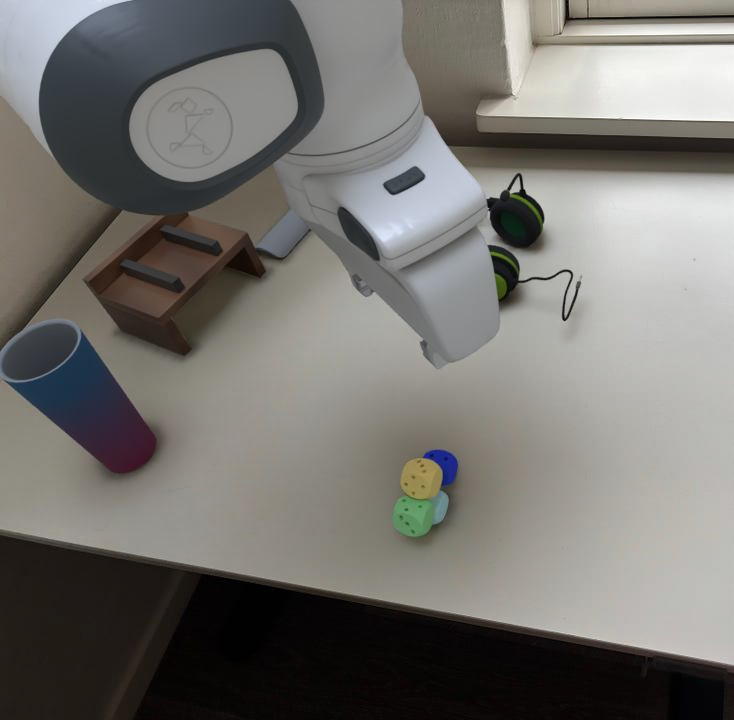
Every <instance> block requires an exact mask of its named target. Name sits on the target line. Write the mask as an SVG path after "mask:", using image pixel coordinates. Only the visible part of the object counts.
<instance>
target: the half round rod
mask: <svg viewBox="0 0 734 720" xmlns="http://www.w3.org/2000/svg"><path fill="white" fill-rule="evenodd" d="M309 230H310V229H309V228H308V227H307V226H306V225H305V224H304V223H303V221H302V220H301V219H300V217H299V216H298V215H297V214H296V213H295V212H294V211H293V210H292V209H291V208H289V210H288V211H287V212H286V213H285V214H284V215H283V216H282V217H281V219H280V220H279V221H278V222H277V223H276V224H275V225H274V226H273V227H272V228H271V229H270V230H269V231H268V232H267V234H265V236H264V237H263V238H262V239H261V240H259V242H258V243H257V244H256V246H254V247H255V249H256V251H257V253H259V254H262V255H267V256H270V257H275V258H280V259H282V258H284V257H286V256H287V255H288V254H289V253H290V252H291V251H292V250H293V248H294V247H295V246H296V245H297V244H298V243H299V241H301V239H302V238H303V237H304V236H305V235H306V234H307V233H308V232H309Z"/></svg>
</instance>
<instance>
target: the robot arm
mask: <svg viewBox="0 0 734 720" xmlns="http://www.w3.org/2000/svg"><path fill="white" fill-rule="evenodd" d="M403 27H404V9H403V2H402V0H0V97H1V98H2V99H3V100H5V102H7V103H8V104H9V106H10V107H11V108H12V110H13V111H14V112H15V113H16V114H17V115H18V117H19V118H20V119H21V120H22V121H23V123H24V124H25V126H26V127H27V129H29V130H30V131H31V133H32V134H33V136H34V138H35V139H36V141H38V142H39V144H40V145H41V146H42V147H43V149H45V152H47V153H48V154H49V155H50V156H51V157H52V159H53V160H54V161H55V162H56V163H57V164H58V166H59V167H60V168H61V169H62V171H63V172H64V173H65V175H67V177H68V178H69V179H70V180H71V181H72V182H73V183H75V184H76V185H77V186H78V187H79V188H80V189H81V190H82V191H84V192H86V193H87V194H88V195H90V196H92V197H93V198H95V199H97V200H98V201H101V202H102V203H104V204H105V205H108V206H110V207H113V208H115V209H119V210H121V211H125V212H129V213H133V214H137V215H145V216H158V215H175V214H181V213H186V212H188V213H190V212H193V211H197V210H199V209H203V208H205V207H208V206H209V205H211V204H214V203H215V202H217V201H219V200H221V199H223V198H225V197H226V196H228V195H229V194H231V193H232V192H234V191H236V190H237V189H239V188H240V187H241V186H243V185H244V184H247V183H248V182H249V181H251V180H252V179H253V178H255V177H256V176H258V175H259V174H261V173H262V172H263V171H265V170H266V169H268V168H269V167H271V166H272V168H273V171H274V172H275V175H276V177H277V180H278V183H279V185H280V187H281V190H282V193H283V195H284V197H285V200H286V202H287V204H288V206H289V209H292V210H293V211H294V212H295V213H296V214H297V215H298V216H299V217H300V219H301V220H302V221H303V223H304V224H305V225H306V226H307V227H308V228H309V230H310V231H311V232H312V233H313V234H314V235H316V237H318V239H319V240H321V241H322V242H323V244H325V246H327V248H329V249H330V250H331V251H332V252H333V253H334V254H335V255H336V256H337V258H338V259H339V261H340V262H341V264H342V266H343V267H344V269H345V270H346V272H347V273H348V275H349V279H350V282H351V284H352V286H353V288H355V290H356V291H357V292H358V293H359V294H361V296H362V297H365V298H367V297H370V296H372V295H373V293H375V294H376V295H377V296H378V297H379V298H380V299H381V300H382V301H383V302H384V303H385V304H386V305H387V306H388V307H390V309H392V311H393V312H395V314H397V316H398V317H399V318H401V319H402V320H403V321H404V322H405V323H406V324H407V325H408V326H409V327H410V328H411V329H412V330H413V331H414V332H415V333H416V334H417V335H418V336H419V337H420V338H421V339H422V340H421V341H419V345H420V349H421V351H422V356H423V357H424V358H425V359H426V360H427V361H428V362H429V363H430V364H431V365H432V366H433V367H434V368H435V369H436V370H441V369H442V368H445V366H447V365H449V364H455V363H457V362H459V361H461V360H464V359H465V358H467V357H469V356H470V355H472V354H474V353H476V352H478V351H479V350H480V349H482V348H483V347H484V346H485V345H488V343H490V342H491V341H492V340H493V339H494V338H495V337H496V335H498V333H499V331H500V325H501V315H500V303H499V302H498V295H497V288H496V281H495V274H494V268H493V263H492V259H491V255H490V251H489V248H488V246H487V245H488V243H487V241H486V239H485V236H484V235H483V233H482V231H481V229H480V228H479V227H478V226H477V225H479V224H480V223H481V222H483V221H484V220H485V219H487V217H488V215H489V214H488V213H489V211H488V209H489V208H488V207H487V200H486V199H487V196H486V193H485V191H484V189H483V187H482V186H481V185H480V183H479V181H477V179H476V178H475V177H474V176H473V175H472V174H471V173H470V172H469V171H468V169H467V168H466V167H465V166H464V165H463V164H462V163H461V161H460V160H459V159H458V158H457V157H456V156H455V154H454V153H453V152H452V150H451V149H450V148H449V146H448V145H447V144H446V142H445V141H444V139H443V138H442V136H441V134H440V133H439V131H438V129H437V127H436V124H434V122H433V120H432V119H431V118H430V116H428V115H425V111H424V107H423V102H422V101H423V100H422V97H421V96H422V95H421V91H420V87H419V86H420V85H419V83H418V81H417V77H416V76H415V74H414V71H413V70H412V68H411V66H410V64H409V62H408V60H407V59H406V58H407V57H406V55H405V51H404V47H403Z"/></svg>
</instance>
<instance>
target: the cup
mask: <svg viewBox="0 0 734 720" xmlns="http://www.w3.org/2000/svg"><path fill="white" fill-rule="evenodd" d="M0 379H1V380H2V381H4V382H5V383H6V384H7V385H8V386H10V387H11V388H12V389H13V390H14V391H16V393H18V394H19V395H20V396H22V398H24V399H25V400H26V402H29V403H30V404H31V405H32V406H33V407H34V408H36V409H37V410H38V411H39V412H40V413H41V414H43V415H44V416H45V417H46V418H47V419H49V420H50V421H51V422H52V423H53V424H54V425H55V426H56V427H58V428H59V429H60V430H62V431H63V433H65V434H66V435H68V437H70V438H71V439H72V440H73V441H74V442H76V443H77V444H78V445H79V446H81V448H83V450H85V451H86V452H88V453H89V454H90V455H91V456H92V457H94V459H96V460H97V461H98V462H99V463H100V464H102V465H103V466H104V467H105V468H106V469H107V470H109V471H110V472H112V473H115V474H127V473H131V472H133V471H136V470H137V469H140V468H141V467H142V466H143V465H145V464H146V463H147V462H148V461H149V460H150V459H151V458H152V456H153V454H154V453H155V451H156V448H157V438H156V436H155V434H154V432H153V431H152V430H151V428H150V427H149V425H148V424H147V423H146V421H145V419H144V418H143V417H142V415H141V414H140V412H139V411H138V409H137V408H136V406H135V405H134V403H133V402H132V401H131V400H130V398H129V396H128V395H127V394H126V392H125V391H124V389H123V388H122V386H121V385H120V383H119V382H118V381H117V380H116V377H115V376H114V375H113V374H112V372H111V371H110V369H109V368H108V366H107V365H106V364H105V362H104V360H103V359H102V357H101V356H100V355H99V353H98V351H97V350H96V349H95V347H94V345H92V343H91V342H90V340H89V339H88V338H87V336H86V335H85V333H84V332H83V330H82V329H81V328H80V326H79V325H78V323H76V322H74V321H73V320H70V319H67V318H50V319H46V320H42V321H40V322H37V323H34V324H32V325H30V326H28V327H25V328H24V329H23V330H21V331H19V332H18V333H17V334H15V335H14V336H13V337H12V338H10V339H9V340H8V341H7V342H6V344H5V345H4V346H3V347H2V348H1V350H0Z"/></svg>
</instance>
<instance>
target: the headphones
mask: <svg viewBox="0 0 734 720" xmlns="http://www.w3.org/2000/svg"><path fill="white" fill-rule="evenodd" d="M518 178H519V179H518ZM517 179H518V180H519V186H520V187H519V188H520V189H519V191H516V192H512V193H511V190H512V188H513V186H514V184H515V183H516V181H517ZM486 200H487V207H488V212H489V221H490V225H491V227H492V229H493V230H494V232H495V233H496V235H498V237H500V239H502V240H503V241H504V242H505V243H507V244H509V245H511V246H514V247H518V248H528V247H531V246H533V245H534V244H535V243H536V241H537V240H538V239H539V238H540V236H541V235H542V233H543V231H544V224H545V220H546V219H545V213H544V210H543V207H542V206H541V204H539V202H538V201H537V200H536V199H535V198H534V197H532V195H530V194H527V191H526V189H525V188H524V177H523V175H522V173H521V172H517V173H516V174H515V175H514V177H513V178H512V180H511V181H510V183H509V185H508V186H507V188H506V189H503V191H501V193H499V197H493V196H489V198H486ZM487 246H488V248H489V251H490V255H491V259H492V263H493V268H494V274H495V281H496V288H497V295H498V303H500V302H503V301H505V300H506V299H507V298H508V297H510V295H511V293H512V292H514V291H515V289H516V288H517V286H518V284H526V283H529V282H531V281H534V280H536V281H550V280H552V279H554V278H556V277H557V276H559V275H560V274H564V273H569V274H570V278H569V281H568V283H567V285H566V288H565V290H564V294H563V300H562V308H561V319H562V321H563V322H567V321H568V319H569V318H570V316H571V314H572V311H573V309H574V306H575V304H576V301H577V299H578V293H579V290H580V288H581V285H582V282H581V280H582V277H583V274H580V276H579V279H578V280H577V281H576V284H575V292H574V295H573V299H572V301H571V303H570V306H569V308H568V312H567V314H566V301H567V295H568V292H569V288H570V286H571V284H572V282H573V278H574V272H573V271H572V270H571V269H568V268H566V269H565V268H564V269H562V270H561V269H560V270H559V271H557V272H556V273H555V274H553V275H551V276H548V277H542V276H541V277H540V276H532V277H529V278H527V279H523V280H519V279H520V272H521V266H520V262H519V260H518V258H517V257H516V256H515V255H514V254H513V252H511V251H510V250H509V249H506V248H505V247H502V246H498V245H495V244H487ZM565 314H566V315H565Z"/></svg>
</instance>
